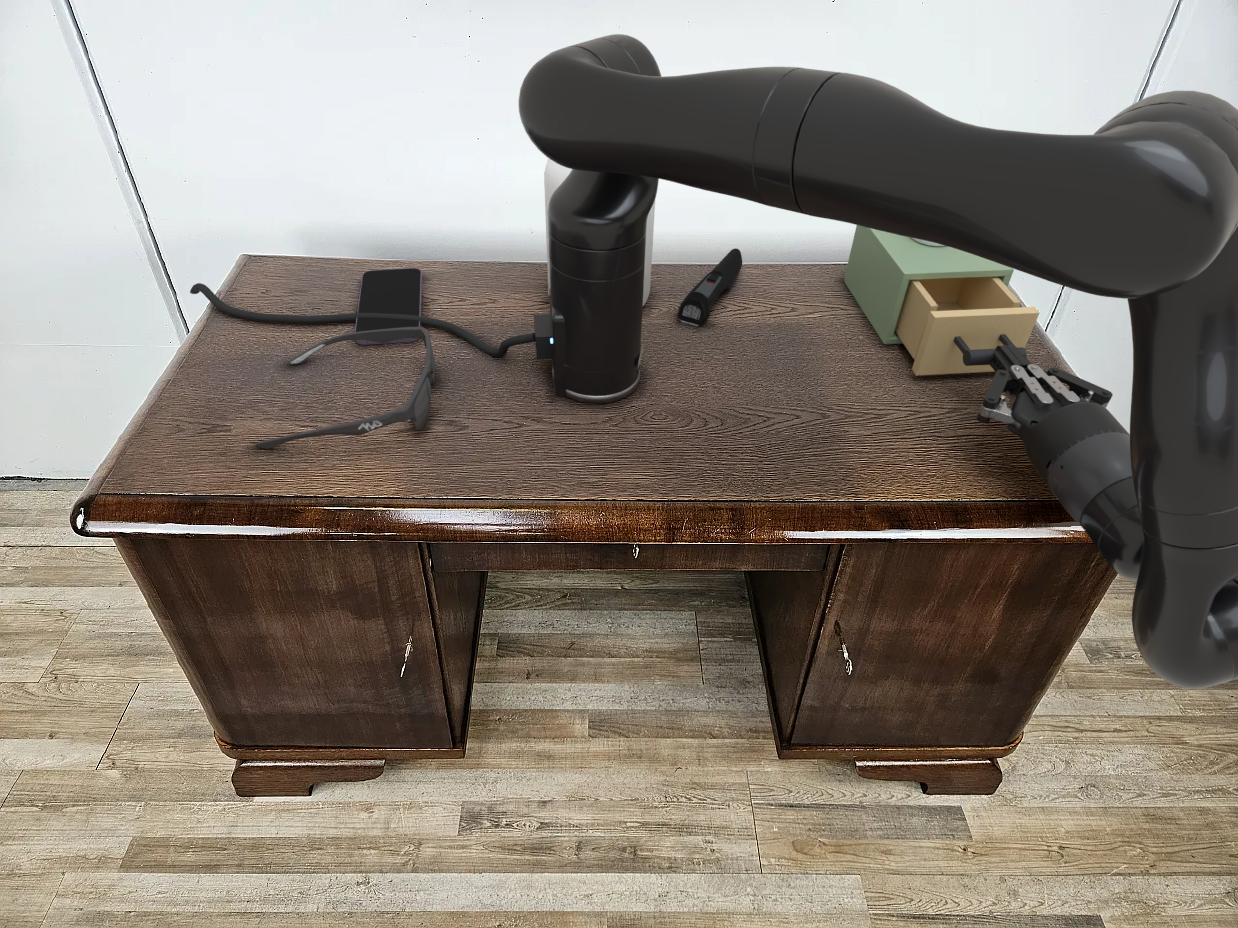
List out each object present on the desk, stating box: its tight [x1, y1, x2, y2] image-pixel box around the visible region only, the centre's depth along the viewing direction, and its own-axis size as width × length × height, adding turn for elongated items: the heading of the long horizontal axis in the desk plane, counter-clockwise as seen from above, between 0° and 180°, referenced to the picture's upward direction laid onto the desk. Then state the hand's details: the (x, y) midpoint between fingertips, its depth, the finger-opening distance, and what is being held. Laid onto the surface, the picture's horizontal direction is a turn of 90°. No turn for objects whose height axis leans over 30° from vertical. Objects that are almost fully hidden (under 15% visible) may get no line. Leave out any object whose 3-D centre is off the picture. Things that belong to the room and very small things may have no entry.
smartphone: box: [354, 267, 423, 346], centre depth 97 cm, size 7×1×15 cm
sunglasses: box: [255, 326, 436, 450], centre depth 83 cm, size 16×17×5 cm
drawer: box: [895, 276, 1040, 376], centre depth 90 cm, size 18×11×7 cm, turn 7°
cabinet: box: [843, 225, 1015, 345], centre depth 97 cm, size 15×13×9 cm
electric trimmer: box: [677, 248, 743, 327], centre depth 101 cm, size 4×16×3 cm, turn 154°
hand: (1000, 352), depth 82 cm, fingers closed
